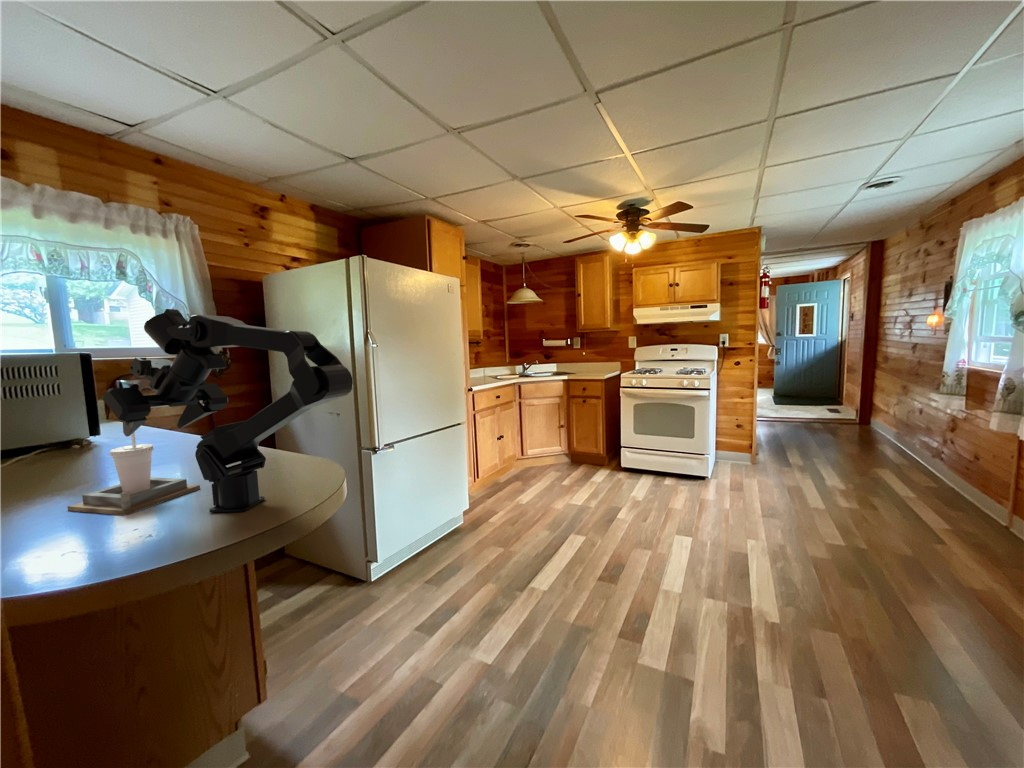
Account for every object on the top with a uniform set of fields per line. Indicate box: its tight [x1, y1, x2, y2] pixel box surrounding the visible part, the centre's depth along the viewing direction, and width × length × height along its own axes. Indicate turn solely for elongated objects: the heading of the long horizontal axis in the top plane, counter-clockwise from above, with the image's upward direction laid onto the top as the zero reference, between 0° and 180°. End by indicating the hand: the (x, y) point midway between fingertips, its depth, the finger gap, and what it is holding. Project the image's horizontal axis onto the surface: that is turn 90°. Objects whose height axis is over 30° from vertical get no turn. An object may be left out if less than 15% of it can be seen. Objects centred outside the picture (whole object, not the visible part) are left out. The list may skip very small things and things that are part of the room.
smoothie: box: [109, 431, 155, 495], centre depth 81 cm, size 6×6×14 cm
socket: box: [67, 476, 201, 516], centre depth 82 cm, size 14×14×4 cm
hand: (153, 430), depth 81 cm, fingers open, 9 cm apart
